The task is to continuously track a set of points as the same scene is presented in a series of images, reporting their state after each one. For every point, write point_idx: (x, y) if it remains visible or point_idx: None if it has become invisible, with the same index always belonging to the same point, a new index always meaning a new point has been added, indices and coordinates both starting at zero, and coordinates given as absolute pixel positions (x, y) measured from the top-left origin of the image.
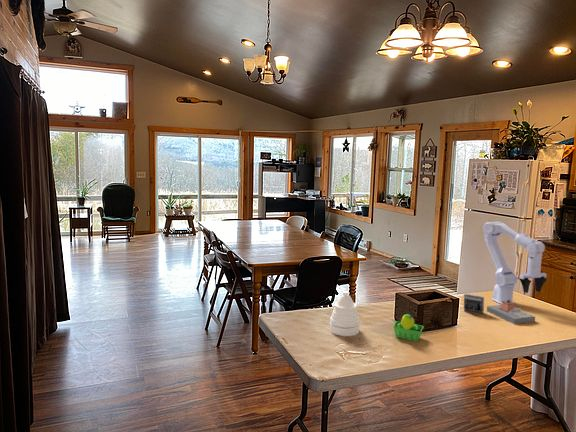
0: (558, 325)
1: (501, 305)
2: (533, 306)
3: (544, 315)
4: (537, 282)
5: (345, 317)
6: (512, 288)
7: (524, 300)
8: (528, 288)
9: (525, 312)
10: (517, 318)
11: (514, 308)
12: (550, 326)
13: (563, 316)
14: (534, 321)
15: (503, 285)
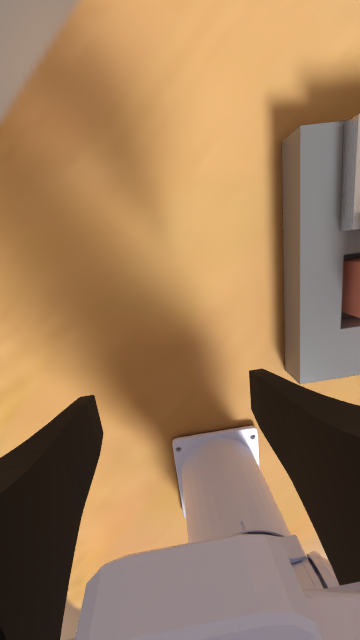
0: (168, 40)
1: (348, 367)
2: None
3: (130, 248)
4: (63, 527)
5: None
6: (226, 534)
7: None
8: (281, 387)
9: (356, 169)
10: None
11: (311, 309)
12: (241, 32)
13: (6, 214)
14: (285, 140)
15: (326, 559)
